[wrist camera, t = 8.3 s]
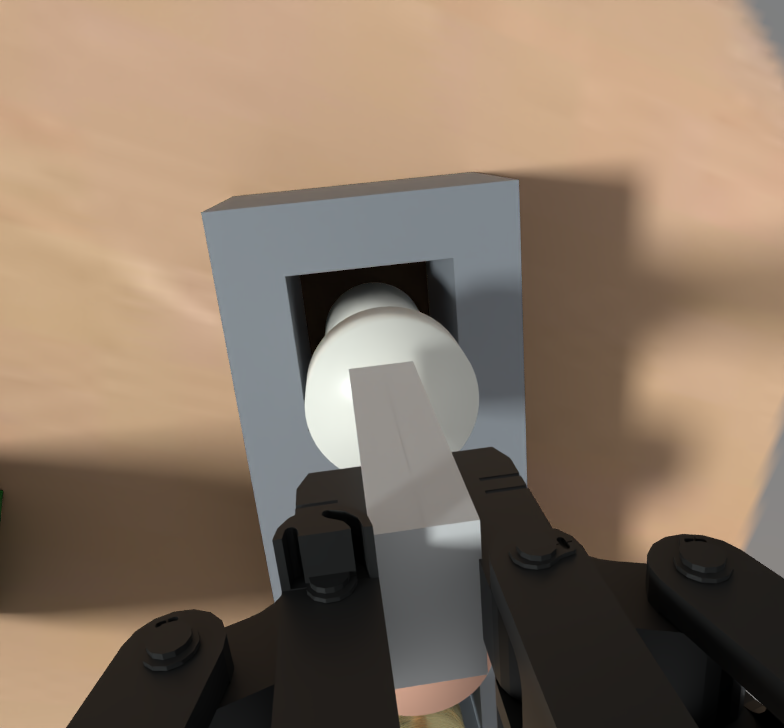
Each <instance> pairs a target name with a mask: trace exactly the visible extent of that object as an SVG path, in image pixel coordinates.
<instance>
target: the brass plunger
mask: <svg viewBox="0 0 784 728" xmlns="http://www.w3.org/2000/svg"><path fill="white" fill-rule="evenodd" d="M399 722H400V728H465V726H464V721H463V717H462V713H461V709H460V704H459V703H458V704H456V705H454V706H452V707H450V708H447V709H445V710H442V711H439V712H436V713H432V714H427V715H420V716H401V715H399Z"/></svg>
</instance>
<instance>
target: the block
mask: <svg viewBox="0 0 784 728" xmlns="http://www.w3.org/2000/svg"><path fill="white" fill-rule="evenodd" d="M201 214H202V219H203V225H204V230H205V235H206V241H207V246H208V251H209V257H210V262H211V267H212V273H213V278H214V283H215V289H216V294H217V299H218V305H219V310H220V315H221V321H222V326H223V331H224V337H225V342H226V347H227V353H228V358H229V363H230V369H231V374H232V379H233V385H234V390H235V395H236V401H237V406H238V411H239V417H240V422H241V427H242V433H243V438H244V443H245V449H246V454H247V459H248V465H249V470H250V475H251V481H252V486H253V491H254V497H255V502H256V507H257V513H258V518H259V523H260V529H261V534H262V539H263V545H264V550H265V555H266V561H267V566H268V571H269V577H270V582H271V587H272V593H273V598H274V603H275V601H276V600H277V599H278V598H279V597H280V596H281V594H282V591H281V585H280V580H279V575H278V569H277V564H276V558H275V553H274V548H273V542H272V539H273V537H274V535H275V532H276V530H277V528H278V527H279V526H280V525H281V524H283V523H284V522H285V521H286V520H287V519H288V518H290V517H292V516H294V515H295V509H296V490H297V488H298V486H299V485H300V484H301V482H302V481H303V480H304V479H305V477H306V476H307V475H308V473H314V472H321V471H329V470H336V469H339V468H338V467H337V466H335V465H334V464H333V463H331V462H330V461H329V460H328V459H327V458H326V457H325V456H324V455H323V454H322V452H321V451H320V450H319V448H318V447H317V445H316V444H315V442H314V440H313V438H312V436H311V434H310V431H309V428H308V425H307V421H306V417H305V392H306V381H307V373H308V368H309V364H310V361H311V358H312V357H311V350H310V343H309V336H308V329H307V322H306V315H305V308H304V301H303V294H302V287H301V280H300V275H303V274H312V273H321V272H330V271H339V270H348V269H357V268H366V267H375V266H384V265H393V264H402V263H411V262H421V261H426V273H427V286H428V299H429V312H430V317H431V318H433V319H434V320H436V321H437V322H439V323H440V324H441V325H442V326H443V327H445V328H446V329H447V330H448V331H449V333H450V334H451V335H452V336H453V337H454V339H455V340H456V342H457V343H458V345H459V346H460V348H461V349H462V351H463V352H464V354H465V355H466V357H467V359H468V360H469V362H470V363H471V366H472V368H473V370H474V373H475V375H476V379H477V383H478V389H479V408H478V414H477V418H476V422H475V425H474V427H473V430H472V432H471V434H470V436H469V438H468V439H467V441H466V443H465V444H464V446H463V447H462V448H461V449H460V451H463V450H470V449H478V448H485V447H494V448H495V449H497V450H498V451H500V452H502V453H503V454H505V455H507V456H508V457H510V458H511V460H512V461H513V463H514V465H515V467H516V468H517V470H518V472H519V475H520V476H521V477H522V478H523V480H524V482H525V483H526V485H527V460H526V423H525V386H524V349H523V312H522V275H521V238H520V201H519V180H518V179H512V178H506V177H500V176H493V175H487V174H481V173H475V172H467V173H458V174H448V175H438V176H428V177H419V178H409V179H399V180H389V181H380V182H370V183H360V184H350V185H341V186H331V187H321V188H311V189H302V190H292V191H282V192H272V193H263V194H253V195H243V196H233V197H231V198H229V199H227V200H225V201H223V202H221V203H219V204H217V205H215V206H213V207H211V208H209V209H207V210H205V211H203V212H201ZM459 704H460V709H461V713H462V717H463V721H464V726H465V728H497V712H496V691H495V674H494V671H493V668H492V665H491V668H490V670H489V672H488V674H487V676H486V678H485V679H484V681H483V682H482V683H481V685H480V686H479V687H478V688H477V689H476V690H475V691H474V692H473V693H472V694H471V695H469V696H468V697H467V698H465V699H464V700H463V701H461V702H459Z"/></svg>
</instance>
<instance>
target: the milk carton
mask: <svg viewBox="0 0 784 728" xmlns="http://www.w3.org/2000/svg"><path fill="white" fill-rule="evenodd" d="M2 499H3V490H0V521H1V510H2Z"/></svg>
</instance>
